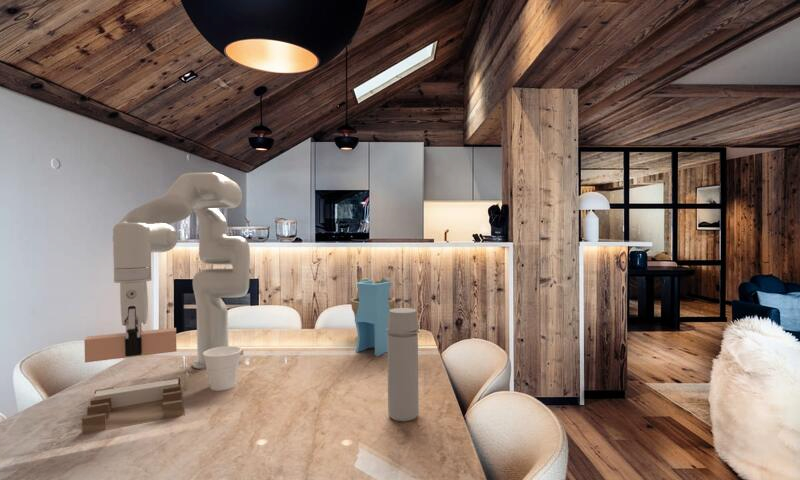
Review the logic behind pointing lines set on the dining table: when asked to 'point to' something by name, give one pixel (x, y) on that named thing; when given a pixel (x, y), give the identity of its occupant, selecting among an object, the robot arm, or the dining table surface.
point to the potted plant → (386, 279)
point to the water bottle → (402, 364)
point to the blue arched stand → (372, 316)
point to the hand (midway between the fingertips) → (134, 352)
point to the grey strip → (136, 393)
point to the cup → (222, 367)
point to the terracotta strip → (115, 344)
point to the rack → (132, 411)
